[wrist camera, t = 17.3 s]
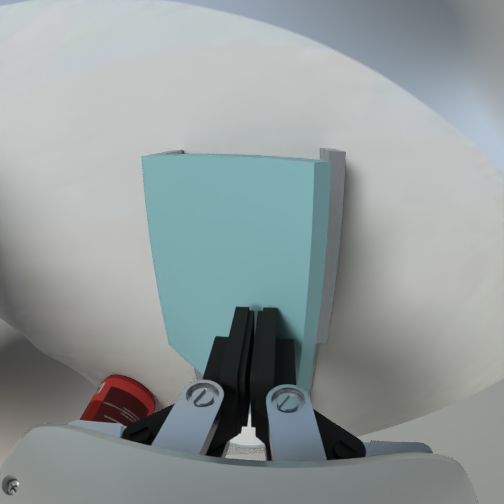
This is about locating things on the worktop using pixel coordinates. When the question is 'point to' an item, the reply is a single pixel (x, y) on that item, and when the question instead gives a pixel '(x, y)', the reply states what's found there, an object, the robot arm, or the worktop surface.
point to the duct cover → (238, 246)
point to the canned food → (119, 402)
